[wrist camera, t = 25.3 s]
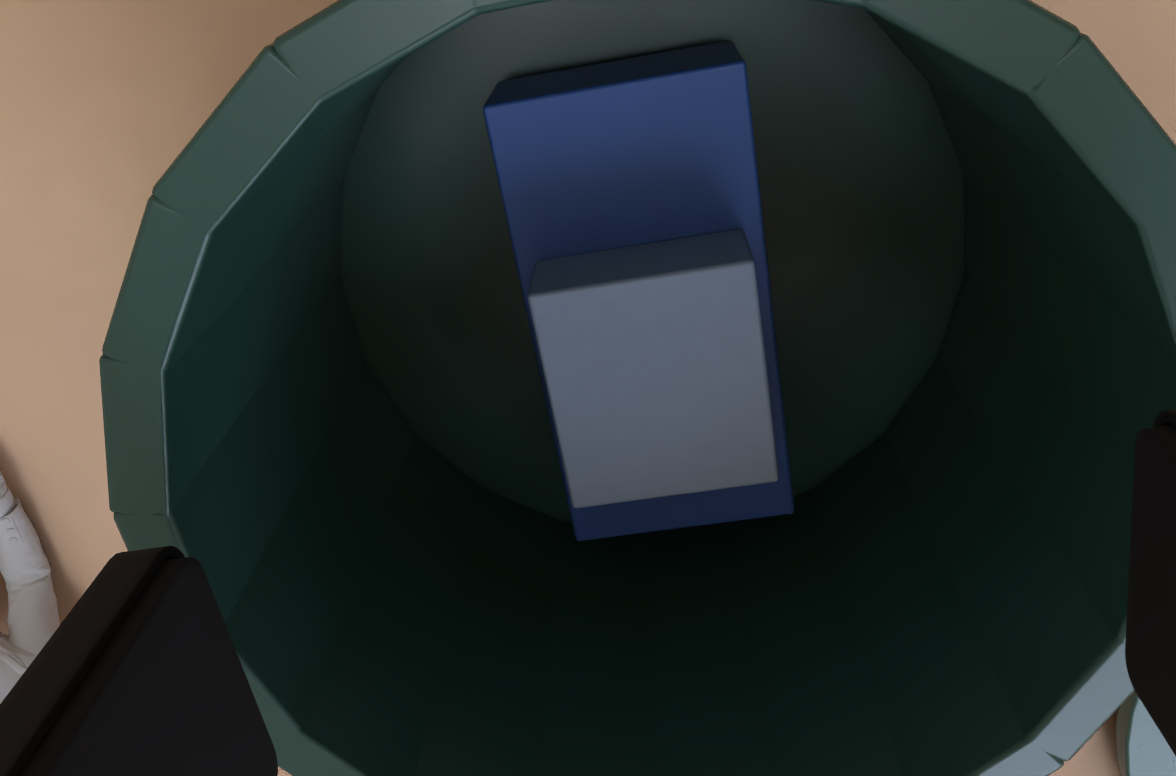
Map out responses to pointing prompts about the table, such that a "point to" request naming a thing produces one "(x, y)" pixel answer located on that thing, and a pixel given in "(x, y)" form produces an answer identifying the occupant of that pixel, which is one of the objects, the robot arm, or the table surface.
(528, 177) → the toy car
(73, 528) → the table surface
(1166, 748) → the lid
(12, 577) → the soldier figure
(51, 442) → the table surface
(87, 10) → the table surface
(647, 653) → the tin
